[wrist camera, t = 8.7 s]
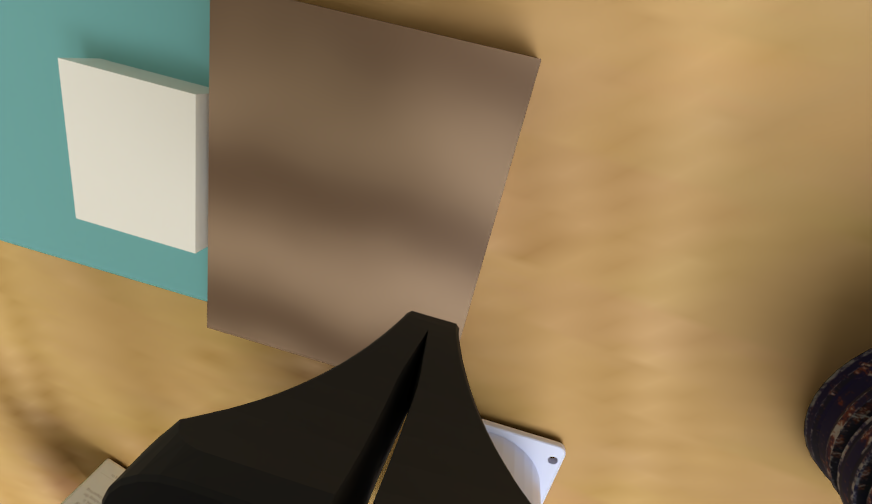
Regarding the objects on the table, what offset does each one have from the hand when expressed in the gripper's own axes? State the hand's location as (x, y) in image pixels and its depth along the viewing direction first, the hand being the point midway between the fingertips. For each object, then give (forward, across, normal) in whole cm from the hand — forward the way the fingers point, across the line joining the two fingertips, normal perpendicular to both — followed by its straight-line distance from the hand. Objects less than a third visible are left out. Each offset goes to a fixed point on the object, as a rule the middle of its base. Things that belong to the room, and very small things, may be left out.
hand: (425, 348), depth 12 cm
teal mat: (+9, +18, 0) cm, 20 cm away
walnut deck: (+9, +5, 0) cm, 11 cm away
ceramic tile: (+9, +14, 0) cm, 17 cm away
